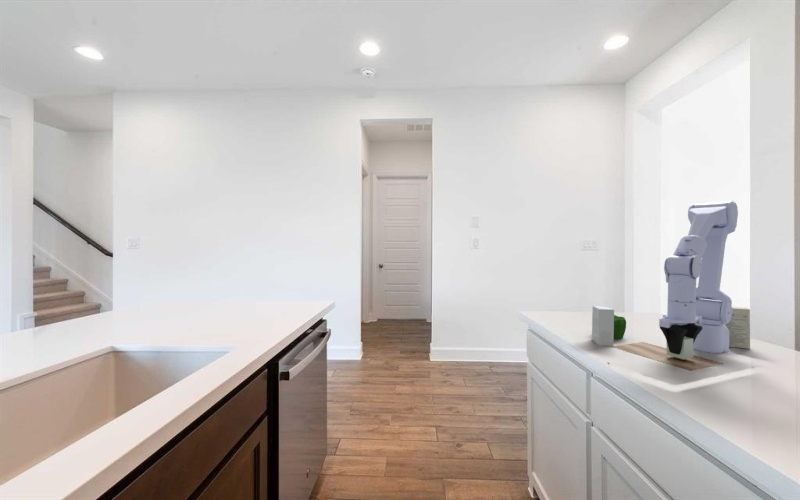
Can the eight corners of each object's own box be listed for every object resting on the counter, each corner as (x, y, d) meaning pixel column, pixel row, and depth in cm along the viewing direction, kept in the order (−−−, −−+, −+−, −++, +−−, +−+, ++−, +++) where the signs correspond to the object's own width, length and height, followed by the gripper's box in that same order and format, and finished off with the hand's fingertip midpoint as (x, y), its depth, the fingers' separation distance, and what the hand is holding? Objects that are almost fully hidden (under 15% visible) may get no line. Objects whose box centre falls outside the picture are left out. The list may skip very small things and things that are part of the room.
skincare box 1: (614, 349, 100) (614, 309, 100) (598, 348, 101) (599, 309, 101) (605, 344, 106) (606, 306, 106) (591, 343, 107) (591, 305, 107)
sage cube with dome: (675, 353, 92) (676, 333, 92) (693, 357, 88) (693, 337, 88) (666, 354, 90) (666, 335, 90) (683, 359, 87) (683, 338, 87)
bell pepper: (600, 335, 117) (601, 306, 117) (628, 340, 111) (629, 310, 111) (592, 339, 111) (592, 309, 111) (621, 345, 105) (621, 313, 105)
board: (642, 345, 105) (642, 341, 105) (723, 368, 86) (723, 363, 86) (611, 350, 100) (611, 346, 100) (690, 375, 81) (690, 370, 81)
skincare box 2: (745, 346, 106) (747, 307, 105) (750, 349, 102) (751, 309, 102) (718, 342, 109) (719, 305, 109) (721, 345, 105) (722, 307, 105)
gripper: (681, 297, 95) (679, 345, 96) (647, 300, 90) (646, 350, 90) (711, 301, 89) (710, 352, 89) (677, 304, 83) (676, 359, 84)
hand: (680, 352), depth 89 cm, fingers closed on sage cube with dome, 4 cm apart
